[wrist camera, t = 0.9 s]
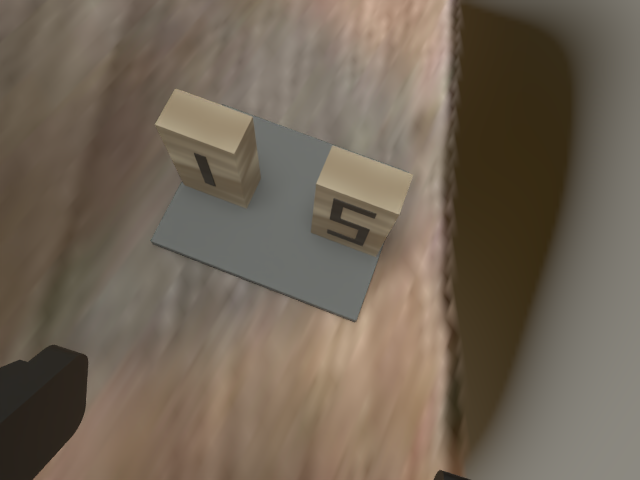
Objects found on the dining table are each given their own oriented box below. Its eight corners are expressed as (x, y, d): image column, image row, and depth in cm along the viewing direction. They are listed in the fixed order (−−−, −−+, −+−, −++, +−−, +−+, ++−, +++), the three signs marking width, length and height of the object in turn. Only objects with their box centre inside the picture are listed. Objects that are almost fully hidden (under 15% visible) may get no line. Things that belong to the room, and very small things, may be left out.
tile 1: (246, 209, 33) (233, 154, 26) (183, 185, 33) (154, 125, 26) (261, 177, 34) (253, 115, 26) (200, 154, 34) (175, 87, 27)
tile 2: (375, 257, 32) (398, 215, 25) (310, 233, 32) (315, 184, 25) (387, 224, 33) (413, 173, 26) (324, 200, 33) (332, 144, 26)
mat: (152, 244, 32) (150, 240, 32) (223, 109, 36) (222, 104, 35) (355, 322, 31) (356, 320, 31) (407, 176, 35) (409, 172, 34)
